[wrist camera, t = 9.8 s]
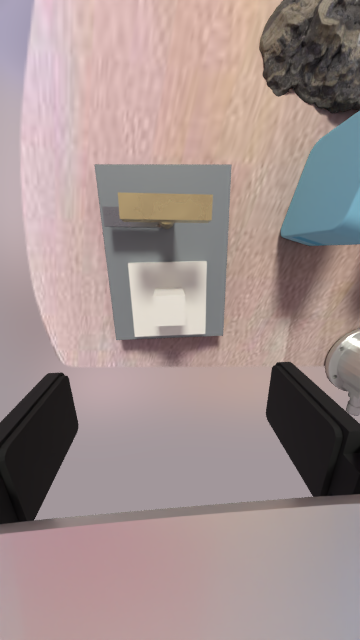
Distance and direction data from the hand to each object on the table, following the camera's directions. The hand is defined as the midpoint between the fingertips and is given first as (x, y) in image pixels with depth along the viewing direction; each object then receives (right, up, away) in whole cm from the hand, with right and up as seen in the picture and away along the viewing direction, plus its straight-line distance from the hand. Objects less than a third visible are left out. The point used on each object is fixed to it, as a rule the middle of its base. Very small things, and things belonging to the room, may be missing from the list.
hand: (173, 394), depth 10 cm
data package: (+18, +21, +20) cm, 34 cm away
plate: (-2, +12, +21) cm, 25 cm away
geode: (+19, +37, +15) cm, 44 cm away
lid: (-1, +6, +20) cm, 21 cm away
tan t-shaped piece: (-3, +16, +17) cm, 23 cm away
